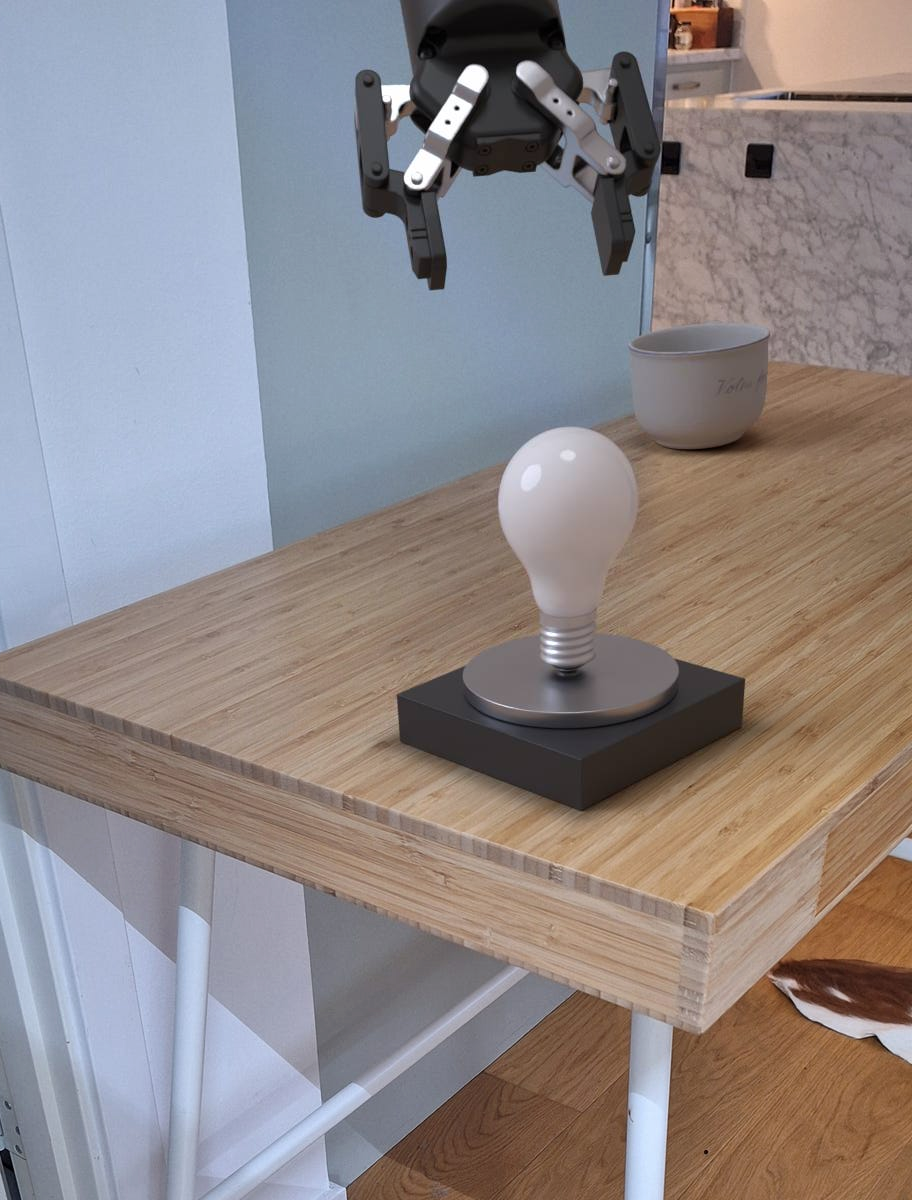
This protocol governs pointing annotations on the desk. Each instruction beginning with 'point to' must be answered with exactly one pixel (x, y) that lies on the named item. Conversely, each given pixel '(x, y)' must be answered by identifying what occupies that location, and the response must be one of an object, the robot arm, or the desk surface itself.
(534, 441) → the lightbulb
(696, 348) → the teacup
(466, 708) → the scale
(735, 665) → the desk surface
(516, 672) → the scale pan
